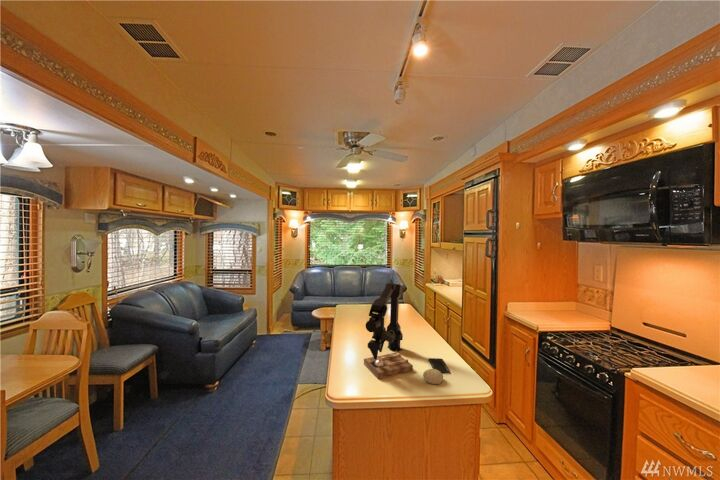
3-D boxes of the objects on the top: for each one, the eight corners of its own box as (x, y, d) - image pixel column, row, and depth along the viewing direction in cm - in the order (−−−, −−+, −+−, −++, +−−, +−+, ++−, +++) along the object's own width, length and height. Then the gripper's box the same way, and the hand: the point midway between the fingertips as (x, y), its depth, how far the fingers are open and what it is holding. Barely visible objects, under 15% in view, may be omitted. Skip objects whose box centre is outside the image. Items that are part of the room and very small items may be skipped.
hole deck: (395, 357, 153) (395, 350, 152) (412, 371, 138) (412, 363, 138) (363, 364, 144) (363, 357, 144) (378, 379, 130) (378, 371, 130)
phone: (442, 358, 151) (450, 372, 136) (442, 360, 151) (450, 374, 136) (428, 358, 151) (434, 371, 136) (428, 360, 151) (434, 373, 136)
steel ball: (373, 367, 141) (382, 370, 141) (373, 369, 136) (383, 372, 136) (375, 357, 142) (384, 360, 142) (376, 358, 138) (385, 361, 137)
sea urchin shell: (418, 371, 134) (430, 360, 134) (429, 382, 134) (441, 371, 135) (424, 381, 125) (437, 369, 125) (436, 393, 125) (448, 381, 126)
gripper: (389, 334, 130) (388, 366, 131) (397, 322, 148) (397, 351, 148) (367, 331, 134) (366, 362, 135) (378, 320, 152) (377, 347, 152)
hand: (378, 355), depth 142 cm, fingers open, 9 cm apart
